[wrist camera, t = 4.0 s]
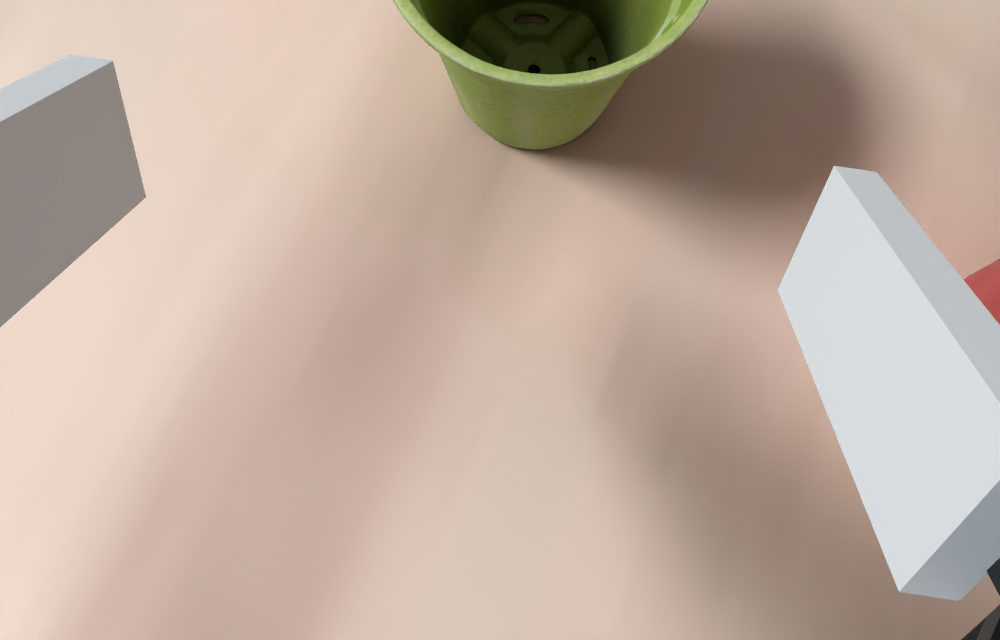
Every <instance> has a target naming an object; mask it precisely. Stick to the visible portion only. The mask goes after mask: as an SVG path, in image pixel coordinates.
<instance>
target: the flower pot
mask: <svg viewBox="0 0 1000 640" xmlns="http://www.w3.org/2000/svg"><path fill="white" fill-rule="evenodd" d="M964 281H965V282H966V284H967V285H968V286H969V287H970V289H971V290H972V291H973V292H974V294H975V295H976V296H977V297H978V299H979V300H980V301H981V302H982V304H983V305H984V306H985V307H986V309H987V310H988V311H989V312H990V314H991V315H992V316H993V317H994V319H995V320H996V321H997V322H998V324H999V325H1000V259H999V260H997V261H995V262H993V263H992V264H990V265H988V266H986V267H985V268H983V269H981V270H979V271H977V272H975V273H974V274H972V275H970V276H969V277H967V278H966V279H964Z"/></svg>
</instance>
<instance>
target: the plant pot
mask: <svg viewBox="0 0 1000 640" xmlns="http://www.w3.org/2000/svg"><path fill="white" fill-rule="evenodd" d="M393 1H394V2H395V4H396V6H397V8H398V9H399V11H400V12H401V14H402V15H403V16H404V18H405V19H406V21H407V22H408V23H409V24H410V26H411V27H412V28H413V29H414V30H415V32H416V33H417V34H418V35H419V36H420V37H421V38H422V39H423V40H424V41H425V42H426V43H427V44H428V45H429V46H431V47H432V48H433V49H434V50H436V51H437V52H438V53H439V54H440V56H441V59H442V61H443V63H444V65H445V68H446V70H447V72H448V74H449V77H450V79H451V82H452V84H453V86H454V88H455V91H456V93H457V95H458V97H459V100H460V102H461V104H462V107H463V108H464V110H465V112H466V113H467V115H468V116H469V117H470V118H471V119H472V120H473V121H474V122H475V123H476V124H477V125H478V126H479V127H480V128H481V129H482V130H484V131H485V132H486V133H487V134H489V135H490V136H491V137H493V138H494V139H495V140H497V141H499V142H501V143H504V144H506V145H509V146H512V147H517V148H523V149H547V148H552V147H556V146H560V145H563V144H565V143H567V142H569V141H571V140H573V139H575V138H576V137H578V136H579V135H580V134H582V133H583V132H584V131H585V130H587V129H588V128H589V127H590V126H591V125H592V124H593V123H594V122H595V121H596V120H597V119H598V118H599V117H600V115H601V114H602V112H603V111H604V110H605V108H606V107H607V105H608V104H609V103H610V101H611V100H612V98H613V97H614V95H615V94H616V93H617V91H618V90H619V88H620V87H621V86H622V84H623V83H624V81H625V80H626V79H627V77H628V76H629V75H630V73H631V72H632V71H634V70H636V69H638V68H640V67H642V66H643V65H645V64H647V63H648V62H650V61H652V60H653V59H655V58H656V57H657V56H659V55H660V54H662V53H663V52H664V51H665V50H667V49H668V48H669V47H670V46H672V45H673V44H674V43H675V42H676V41H677V40H678V39H679V38H680V37H681V36H682V35H683V34H684V33H685V32H686V31H687V30H688V29H689V27H690V26H691V25H692V24H693V23H694V21H695V20H696V18H697V17H698V16H699V14H700V13H701V11H702V10H703V8H704V7H705V5H706V3H707V2H708V0H393ZM524 14H539V15H543V16H545V17H547V18H548V19H549V22H547V23H546V24H543V23H531V22H529V23H523V24H516V23H515V22H514V19H515V18H516V17H518V16H520V15H524ZM591 56H592V58H594V59H596V61H597V69H593V70H589V62H588V59H589V57H591ZM531 65H536V66H538V67H539V69H540V74H535V73H528V69H529V66H531Z"/></svg>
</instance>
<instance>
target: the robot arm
mask: <svg viewBox="0 0 1000 640" xmlns="http://www.w3.org/2000/svg"><path fill="white" fill-rule="evenodd" d="M144 198H146V195H145V191H144V187H143V183H142V179H141V175H140V170H139V166H138V162H137V158H136V154H135V150H134V146H133V142H132V137H131V133H130V129H129V125H128V121H127V117H126V113H125V109H124V105H123V100H122V96H121V92H120V88H119V84H118V80H117V76H116V72H115V68H114V63H113V61H110V60H103V59H96V58H89V57H82V56H76V55H70V56H68V57H66V58H64V59H62V60H60V61H58V62H56V63H54V64H51V65H49V66H47V67H45V68H43V69H41V70H39V71H37V72H35V73H33V74H31V75H29V76H27V77H25V78H23V79H21V80H18V81H16V82H14V83H12V84H10V85H8V86H6V87H4V88H2V89H0V327H1V326H2V325H3V324H4V323H6V322H7V321H8V320H9V319H10V318H11V317H12V316H13V315H15V314H16V313H17V312H18V311H19V310H20V309H21V308H22V307H23V306H25V305H26V304H27V303H28V302H29V301H30V300H31V299H32V298H34V297H35V296H36V295H37V294H38V293H39V292H40V291H41V290H43V289H44V288H45V287H46V286H47V285H48V284H49V283H50V282H51V281H53V280H54V279H55V278H56V277H57V276H58V275H59V274H60V273H62V272H63V271H64V270H65V269H66V268H67V267H68V266H69V265H71V264H72V263H73V262H74V261H75V260H76V259H77V258H78V257H79V256H81V255H82V254H83V253H84V252H85V251H86V250H87V249H88V248H90V247H91V246H92V245H93V244H94V243H95V242H96V241H97V240H99V239H100V238H101V237H102V236H103V235H104V234H105V233H106V232H107V231H109V230H110V229H111V228H112V227H113V226H114V225H115V224H116V223H118V222H119V221H120V220H121V219H122V218H123V217H124V216H125V215H127V214H128V213H129V212H130V211H131V210H132V209H133V208H134V207H136V206H137V205H138V204H139V203H140V202H141V201H142V200H143V199H144ZM778 292H779V295H780V297H781V300H782V302H783V305H784V307H785V310H786V312H787V315H788V317H789V320H790V322H791V325H792V327H793V330H794V332H795V335H796V337H797V340H798V342H799V344H800V347H801V349H802V352H803V354H804V357H805V359H806V362H807V364H808V367H809V369H810V372H811V374H812V377H813V379H814V382H815V384H816V387H817V389H818V392H819V394H820V397H821V399H822V402H823V404H824V407H825V409H826V412H827V414H828V417H829V419H830V422H831V424H832V427H833V429H834V432H835V434H836V437H837V439H838V442H839V444H840V447H841V449H842V451H843V454H844V456H845V459H846V461H847V464H848V466H849V469H850V471H851V474H852V476H853V479H854V481H855V484H856V486H857V489H858V491H859V494H860V496H861V499H862V501H863V504H864V506H865V509H866V511H867V514H868V516H869V519H870V521H871V524H872V526H873V529H874V531H875V534H876V536H877V539H878V541H879V544H880V546H881V549H882V551H883V553H884V556H885V558H886V561H887V563H888V566H889V568H890V571H891V573H892V576H893V578H894V581H895V583H896V586H897V588H898V591H899V592H903V593H909V594H916V595H923V596H929V597H936V598H942V599H949V600H956V601H960V600H961V599H962V598H963V597H964V596H965V595H966V594H967V593H968V592H969V591H970V590H971V589H972V588H974V587H975V586H976V585H977V584H978V583H979V582H980V581H981V580H982V579H983V578H984V577H985V576H986V575H987V574H988V575H989V576H990V578H991V580H992V582H993V584H994V586H995V588H996V590H997V592H998V593H999V595H1000V325H999V324H998V322H997V321H996V320H995V319H994V317H993V316H992V315H991V314H990V312H989V311H988V310H987V309H986V307H985V306H984V305H983V304H982V302H981V301H980V300H979V299H978V297H977V296H976V295H975V294H974V292H973V291H972V290H971V289H970V287H969V286H968V285H967V284H966V282H965V281H964V280H963V279H962V277H961V276H960V275H959V274H958V273H957V271H956V270H955V269H954V268H953V266H952V265H951V264H950V263H949V261H948V260H947V259H946V258H945V256H944V255H943V254H942V253H941V251H940V250H939V249H938V248H937V246H936V245H935V244H934V243H933V241H932V240H931V239H930V238H929V236H928V235H927V234H926V233H925V231H924V230H923V229H922V228H921V226H920V225H919V224H918V223H917V221H916V220H915V219H914V218H913V216H912V215H911V214H910V213H909V211H908V210H907V209H906V208H905V207H904V205H903V204H902V203H901V202H900V200H899V199H898V198H897V197H896V195H895V194H894V193H893V192H892V190H891V189H890V188H889V187H888V185H887V184H886V183H885V182H884V180H883V179H882V178H881V177H880V175H879V174H878V173H877V172H874V171H868V170H861V169H854V168H847V167H840V166H834V167H833V169H832V171H831V173H830V176H829V178H828V180H827V182H826V184H825V187H824V189H823V191H822V193H821V196H820V198H819V200H818V202H817V204H816V207H815V209H814V211H813V213H812V215H811V218H810V220H809V222H808V224H807V226H806V229H805V231H804V233H803V235H802V238H801V240H800V242H799V244H798V246H797V249H796V251H795V253H794V255H793V257H792V260H791V262H790V264H789V266H788V269H787V271H786V273H785V275H784V277H783V280H782V282H781V284H780V286H779V288H778ZM962 640H1000V605H999V606H998V607H997V608H996V609H995V610H993V611H992V612H991V613H990V614H989V615H988V616H987V617H986V618H985V619H984V620H982V621H981V622H980V623H979V624H978V625H977V626H976V627H975V628H974V629H973V630H971V631H970V632H969V633H968V634H967V635H966V636H965V637H964V638H963V639H962Z"/></svg>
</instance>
